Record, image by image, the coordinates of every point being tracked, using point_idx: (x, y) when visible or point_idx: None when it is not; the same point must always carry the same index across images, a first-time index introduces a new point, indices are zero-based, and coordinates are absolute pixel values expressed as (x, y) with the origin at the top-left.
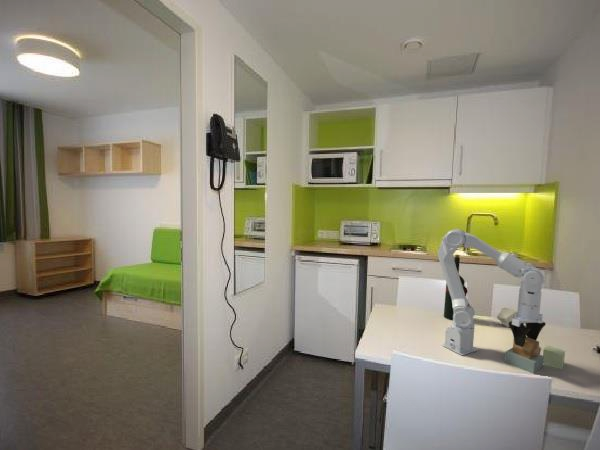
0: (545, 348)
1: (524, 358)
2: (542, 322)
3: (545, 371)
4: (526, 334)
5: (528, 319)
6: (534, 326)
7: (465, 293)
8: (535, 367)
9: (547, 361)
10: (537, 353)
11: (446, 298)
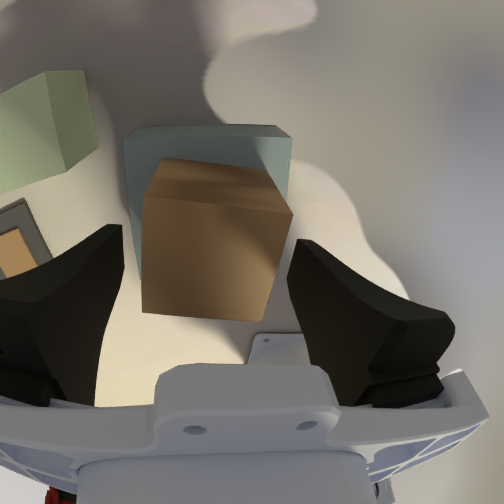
0: (43, 172)
1: (280, 190)
2: (226, 370)
3: (185, 98)
4: (363, 292)
5: (373, 457)
6: (75, 335)
7: (58, 498)
8: (255, 129)
9: (87, 130)
10: (169, 164)
11: None
